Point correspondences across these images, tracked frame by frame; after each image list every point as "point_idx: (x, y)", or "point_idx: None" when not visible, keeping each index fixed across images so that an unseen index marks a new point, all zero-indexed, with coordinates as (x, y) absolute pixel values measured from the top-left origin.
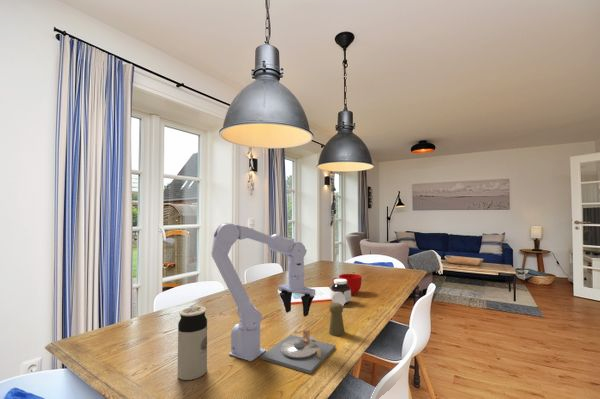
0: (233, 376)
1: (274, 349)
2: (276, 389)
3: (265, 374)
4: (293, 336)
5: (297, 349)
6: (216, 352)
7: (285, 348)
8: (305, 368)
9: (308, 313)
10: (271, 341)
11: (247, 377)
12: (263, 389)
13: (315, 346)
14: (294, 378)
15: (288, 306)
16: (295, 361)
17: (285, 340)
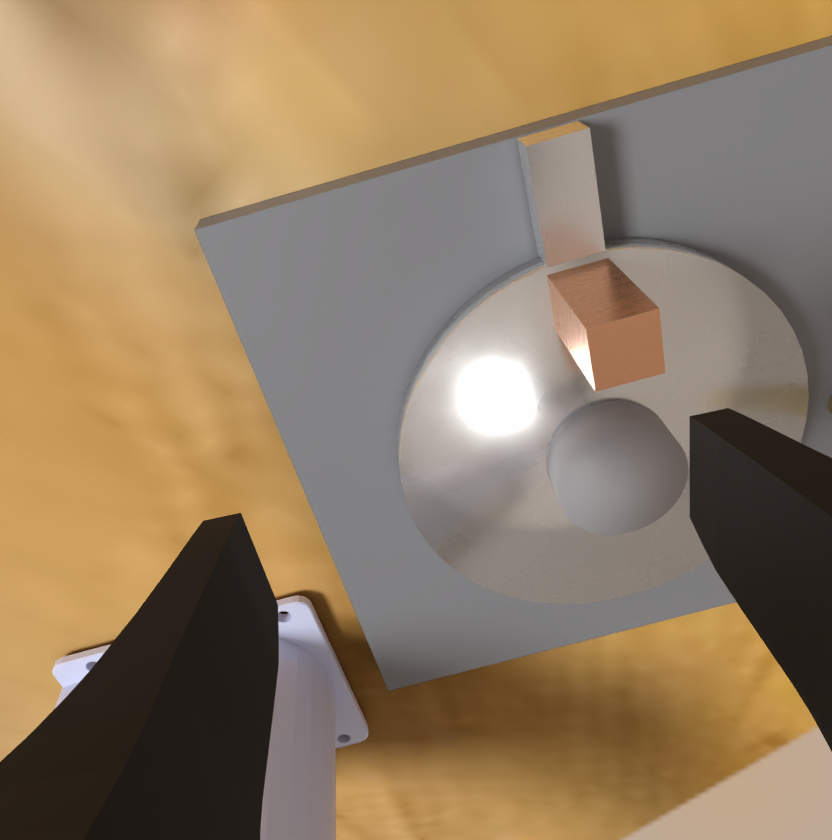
0: (436, 834)
1: (383, 574)
2: (737, 747)
3: (576, 726)
4: (270, 241)
5: None
6: None
7: (516, 563)
8: None
9: (753, 423)
10: (140, 449)
11: (510, 795)
12: (674, 784)
13: (762, 330)
14: None
15: (242, 663)
16: None
17: (298, 391)
